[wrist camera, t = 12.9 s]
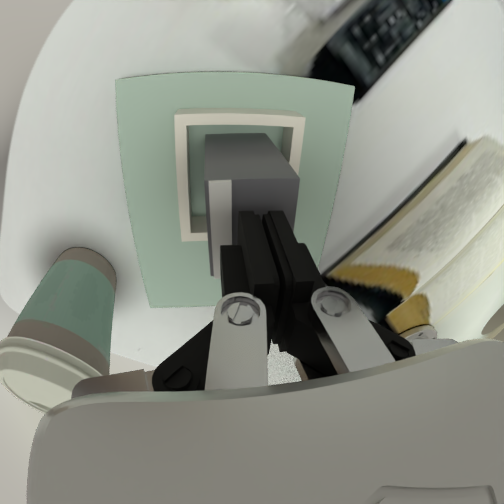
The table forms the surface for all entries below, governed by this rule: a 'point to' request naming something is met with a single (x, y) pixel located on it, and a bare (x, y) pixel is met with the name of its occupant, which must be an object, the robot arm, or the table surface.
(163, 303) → the board
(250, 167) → the plug
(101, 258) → the coffee cup
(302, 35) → the table surface
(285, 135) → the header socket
